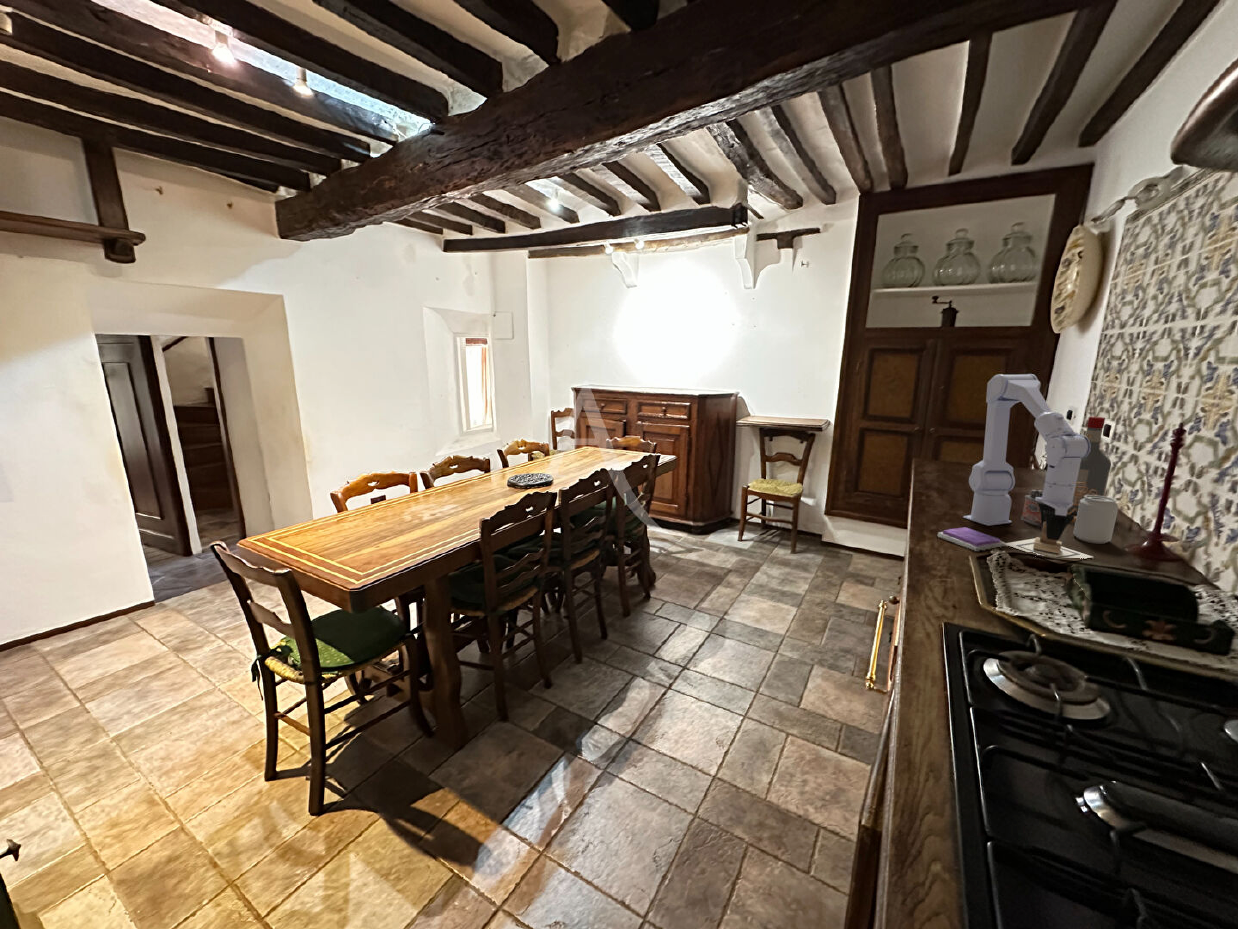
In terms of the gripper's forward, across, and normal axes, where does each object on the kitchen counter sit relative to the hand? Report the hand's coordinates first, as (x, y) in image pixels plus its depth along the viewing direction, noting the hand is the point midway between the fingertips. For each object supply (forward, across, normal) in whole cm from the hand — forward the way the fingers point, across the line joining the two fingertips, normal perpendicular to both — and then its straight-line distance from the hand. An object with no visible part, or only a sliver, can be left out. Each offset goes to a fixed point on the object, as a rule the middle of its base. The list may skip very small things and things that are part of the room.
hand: (1049, 534), depth 122 cm
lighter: (+5, -26, +1) cm, 26 cm away
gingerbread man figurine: (+5, -34, +10) cm, 36 cm away
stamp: (+4, 0, 0) cm, 4 cm away
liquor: (+5, -47, +14) cm, 49 cm away
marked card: (+5, 0, 0) cm, 5 cm away
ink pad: (+5, +2, -16) cm, 17 cm away
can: (+5, -17, +11) cm, 21 cm away
